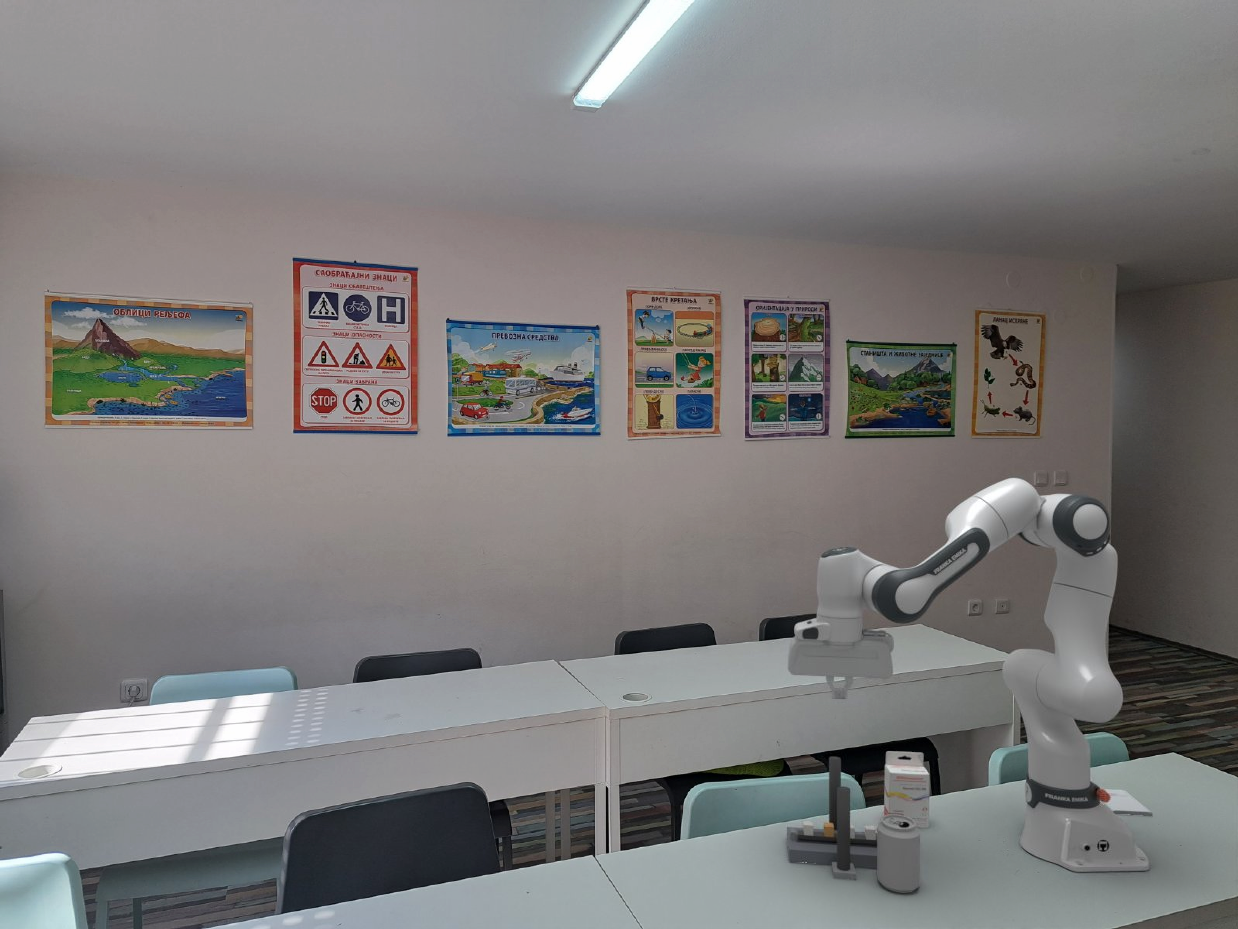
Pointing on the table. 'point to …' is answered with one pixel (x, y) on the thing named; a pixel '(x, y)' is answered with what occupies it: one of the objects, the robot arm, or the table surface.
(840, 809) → the post
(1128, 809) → the external hard drive
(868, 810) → the table surface
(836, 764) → the disc
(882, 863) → the can
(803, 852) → the breaker panel
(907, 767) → the ink cartridge box
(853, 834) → the breaker paddles
